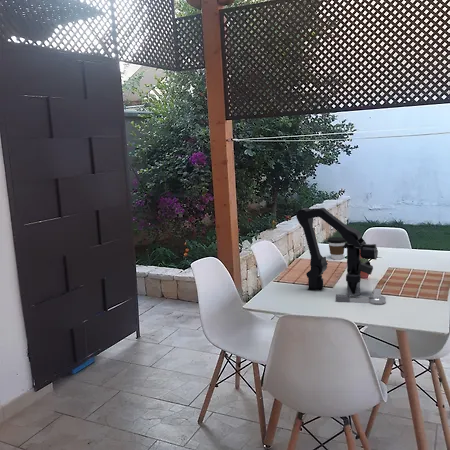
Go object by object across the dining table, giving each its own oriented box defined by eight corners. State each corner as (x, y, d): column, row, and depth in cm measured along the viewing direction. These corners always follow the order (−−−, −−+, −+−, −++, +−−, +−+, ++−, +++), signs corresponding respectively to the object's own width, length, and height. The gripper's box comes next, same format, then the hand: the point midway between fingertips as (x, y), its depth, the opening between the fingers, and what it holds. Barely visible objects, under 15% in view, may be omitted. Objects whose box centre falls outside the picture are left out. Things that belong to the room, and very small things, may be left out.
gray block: (347, 294, 214) (347, 282, 213) (347, 291, 219) (347, 278, 218) (360, 295, 212) (360, 282, 211) (360, 291, 218) (360, 279, 217)
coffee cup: (323, 258, 282) (323, 238, 280) (338, 255, 286) (338, 236, 284) (335, 261, 272) (335, 241, 270) (350, 258, 277) (350, 239, 275)
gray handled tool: (335, 302, 204) (335, 290, 203) (336, 297, 211) (336, 286, 210) (386, 305, 198) (386, 292, 197) (385, 299, 205) (385, 287, 204)
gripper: (372, 263, 202) (372, 297, 205) (371, 253, 219) (371, 285, 222) (345, 262, 205) (346, 296, 208) (347, 252, 223) (347, 284, 225)
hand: (353, 290), depth 216 cm, fingers open, 9 cm apart
